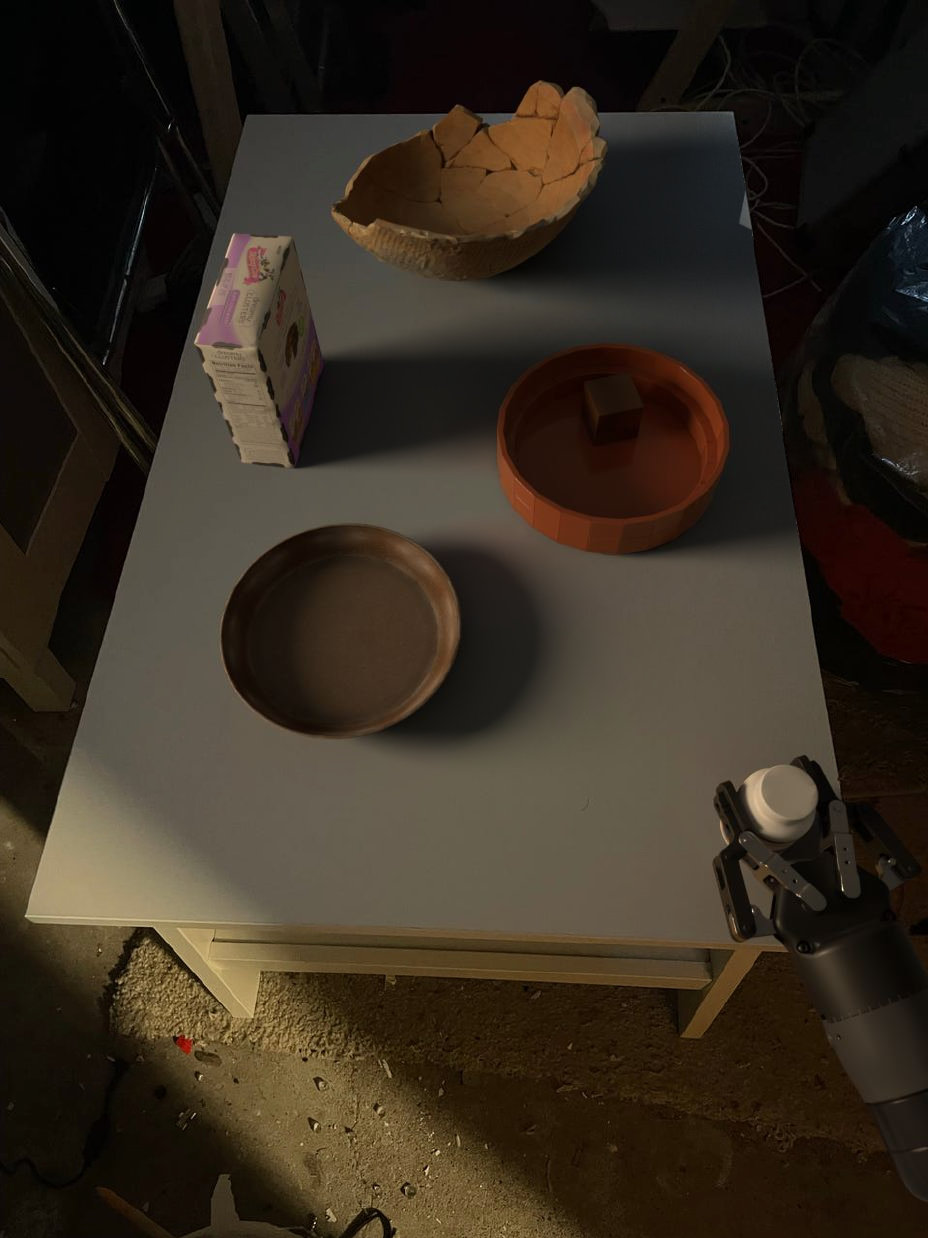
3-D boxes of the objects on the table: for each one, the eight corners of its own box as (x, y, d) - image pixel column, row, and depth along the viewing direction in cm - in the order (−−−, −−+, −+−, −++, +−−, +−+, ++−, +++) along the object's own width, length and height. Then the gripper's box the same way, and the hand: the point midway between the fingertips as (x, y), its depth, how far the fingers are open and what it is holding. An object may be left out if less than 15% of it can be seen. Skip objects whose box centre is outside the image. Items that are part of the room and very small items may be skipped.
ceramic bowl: (386, 126, 110) (394, 1, 96) (595, 193, 110) (632, 79, 96) (301, 301, 97) (296, 186, 84) (537, 377, 98) (570, 275, 84)
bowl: (714, 389, 91) (727, 350, 86) (717, 566, 81) (732, 533, 76) (508, 375, 93) (509, 336, 88) (486, 547, 83) (486, 513, 78)
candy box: (272, 360, 95) (232, 228, 80) (326, 365, 94) (295, 233, 80) (239, 464, 88) (189, 341, 74) (297, 469, 88) (258, 347, 73)
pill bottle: (738, 781, 72) (771, 739, 63) (799, 819, 70) (843, 781, 62) (706, 836, 70) (736, 800, 61) (768, 876, 68) (809, 845, 60)
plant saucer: (510, 625, 79) (510, 608, 76) (349, 801, 72) (343, 789, 69) (342, 505, 86) (337, 484, 83) (181, 654, 79) (169, 638, 76)
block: (623, 403, 90) (629, 371, 86) (637, 437, 88) (644, 406, 84) (580, 412, 89) (584, 380, 85) (593, 446, 87) (598, 416, 83)
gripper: (1006, 965, 55) (865, 723, 63) (797, 1046, 54) (678, 787, 61) (951, 978, 62) (830, 758, 70) (764, 1050, 60) (660, 816, 68)
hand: (759, 773), depth 65 cm, fingers closed on pill bottle, 5 cm apart
